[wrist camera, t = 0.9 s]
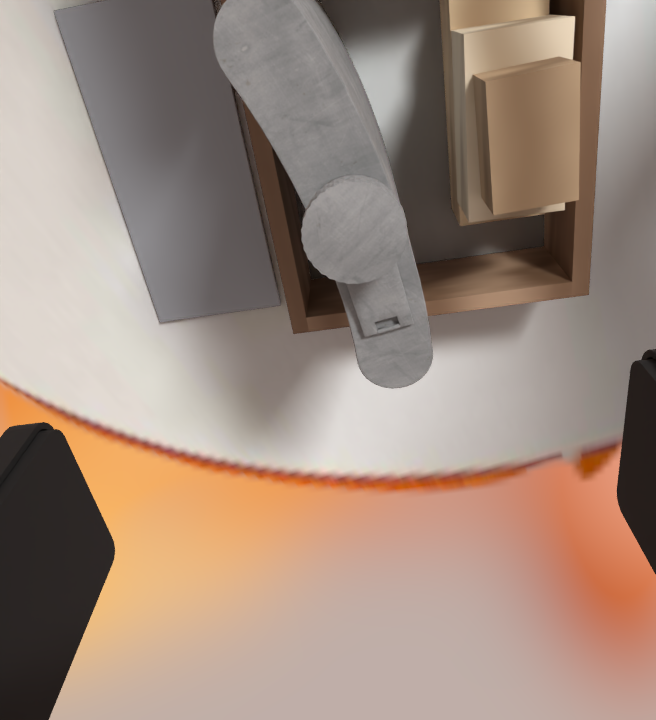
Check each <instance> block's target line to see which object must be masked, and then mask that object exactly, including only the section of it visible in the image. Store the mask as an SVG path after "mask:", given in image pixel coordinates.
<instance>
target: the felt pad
mask: <svg viewBox="0 0 656 720" xmlns="http://www.w3.org/2000/svg"><path fill="white" fill-rule="evenodd" d="M54 14H55V17H56V20H57V23H58V26H59V29H60V31H61V34H62V37H63V40H64V43H65V46H66V49H67V52H68V55H69V58H70V61H71V64H72V67H73V69H74V72H75V75H76V78H77V81H78V84H79V87H80V90H81V93H82V96H83V99H84V102H85V104H86V107H87V110H88V113H89V116H90V119H91V122H92V125H93V128H94V131H95V134H96V137H97V140H98V142H99V145H100V148H101V151H102V154H103V157H104V160H105V163H106V166H107V169H108V172H109V175H110V178H111V180H112V183H113V186H114V189H115V192H116V195H117V198H118V201H119V204H120V207H121V210H122V213H123V216H124V218H125V221H126V224H127V227H128V230H129V233H130V236H131V239H132V242H133V245H134V248H135V251H136V254H137V256H138V259H139V262H140V265H141V268H142V271H143V274H144V277H145V280H146V283H147V286H148V289H149V291H150V294H151V297H152V300H153V303H154V306H155V309H156V312H157V315H158V318H159V321H160V322H165V321H172V320H180V319H187V318H194V317H201V316H209V315H216V314H223V313H230V312H238V311H245V310H252V309H259V308H267V307H274V306H280V305H281V302H280V297H279V293H278V288H277V284H276V279H275V275H274V270H273V266H272V262H271V257H270V253H269V248H268V244H267V239H266V235H265V230H264V226H263V221H262V217H261V213H260V208H259V204H258V199H257V195H256V190H255V186H254V181H253V177H252V173H251V168H250V164H249V159H248V155H247V150H246V146H245V141H244V137H243V132H242V128H241V124H240V119H239V115H238V110H237V106H236V101H235V97H234V92H233V88H232V84H231V83H230V82H229V80H228V79H227V77H226V76H225V75H224V73H223V71H222V70H221V68H220V66H219V64H218V62H217V59H216V56H215V52H214V47H213V29H214V23H215V20H216V12H215V8H214V3H213V0H105V1H100V2H95V3H90V4H85V5H80V6H75V7H70V8H65V9H59V10H54Z"/></svg>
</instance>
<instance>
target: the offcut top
mask: <svg viewBox="0 0 656 720" xmlns="http://www.w3.org/2000/svg"><path fill="white" fill-rule="evenodd" d="M580 75H581V62H578V61H574V60H571V59H567V58H563V57H560V56H559V57H554V58H549V59H545V60H540V61H535V62H530V63H525V64H521V65H516V66H511V67H506V68H501V69H497V70H492V71H487V72H482V73H477V74H473V82H474V97H475V111H476V126H477V140H478V155H479V169H480V184H481V198H482V199H483V201H484V202H485V204H486V205H487V207H488V208H489V210H490V211H491V213H492V214H493V215H499V214H504V213H510V212H515V211H521V210H526V209H532V208H537V207H543V206H548V205H554V204H560V203H565V202H571V201H576V200H579V152H580Z"/></svg>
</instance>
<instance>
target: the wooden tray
mask: <svg viewBox="0 0 656 720" xmlns="http://www.w3.org/2000/svg"><path fill="white" fill-rule="evenodd" d="M220 1H221V5H223V4H224V3H225V2H226V0H220ZM605 14H606V0H550V1H549V15H563V16H575V30H574V48H573V60H574V61H578V62H581V75H580V152H579V200H576V201H571V202H565V210H562V211H554V212H546V213H545V215H544V246H542V247H535V248H528V249H521V250H514V251H507V252H500V253H493V254H486V255H479V256H472V257H465V258H458V259H451V260H444V261H437V262H430V263H422V264H416V266H417V270H418V274H419V278H420V282H421V286H422V291H423V295H424V299H425V304H426V310H427V315H428V316H433V315H440V314H448V313H455V312H463V311H470V310H478V309H486V308H493V307H501V306H508V305H516V304H523V303H531V302H538V301H546V300H553V299H561V298H569V297H576V296H584V295H589V283H590V266H591V249H592V232H593V215H594V199H595V182H596V165H597V148H598V131H599V115H600V98H601V81H602V64H603V47H604V31H605ZM242 101H243V100H242ZM243 106H244V110H245V115H246V119H247V124H248V129H249V133H250V138H251V142H252V147H253V151H254V156H255V161H256V165H257V170H258V174H259V179H260V183H261V188H262V192H263V197H264V202H265V206H266V211H267V215H268V220H269V224H270V229H271V234H272V238H273V243H274V247H275V252H276V256H277V261H278V266H279V270H280V275H281V279H282V284H283V288H284V293H285V297H286V302H287V307H288V311H289V316H290V320H291V325H292V329H293V334H297V333H304V332H312V331H320V330H327V329H335V328H342V327H350V325H349V321H348V318H347V314H346V311H345V308H344V304H343V301H342V298H341V295H340V292H339V289H338V286H337V284H336V281H335V280H333V279H329V278H328V277H324V278H317V279H311V275H310V270H309V265H308V260H307V254H306V252H305V251H304V245H303V243H302V240H301V239H302V233H301V229H302V228H301V223H300V218H299V213H298V208H297V202H296V197H295V192H294V187H293V183H292V181H291V179H290V178H289V176H288V174H287V172H286V170H285V169H284V167H283V165H282V163H281V161H280V160H279V158H278V156H277V154H276V152H275V151H274V149H273V147H272V146H271V144H270V142H269V141H268V139H267V137H266V136H265V134H264V132H263V131H262V129H261V127H260V126H259V124H258V123H257V121H256V120H255V118H254V116H253V115H252V113H251V112H250V110H249V109H248V107H247V106H246V104H245V103H244V101H243Z"/></svg>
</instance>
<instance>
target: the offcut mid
mask: <svg viewBox="0 0 656 720" xmlns="http://www.w3.org/2000/svg"><path fill="white" fill-rule="evenodd" d="M574 30H575V16H563V15H544V16H538V17H531V18H525V19H519V20H513V21H506V22H500V23H494V24H488V25H482V26H475V27H469V28H463V29H457V30H451V40H452V67H453V95H454V122H455V150H456V177H457V201H458V203H459V205H460V207H461V209H462V211H463V212H464V214H465V216H466V218H467V220H468V222H477V221H484V220H492V219H500V218H508V217H515V216H523V215H531V214H538V213H546V212H554V211H562V210H565V203H560V204H554V205H548V206H543V207H537V208H532V209H526V210H521V211H515V212H510V213H504V214H499V215H493V214H492V213H491V211H490V210H489V208H488V207H487V205H486V204H485V202H484V201H483V199H482V198H481V184H480V169H479V155H478V140H477V126H476V111H475V97H474V82H473V74H477V73H482V72H487V71H492V70H497V69H501V68H506V67H511V66H516V65H521V64H525V63H530V62H535V61H540V60H545V59H549V58H554V57H559V56H560V57H563V58H567V59H571V60H573V48H574Z"/></svg>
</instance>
